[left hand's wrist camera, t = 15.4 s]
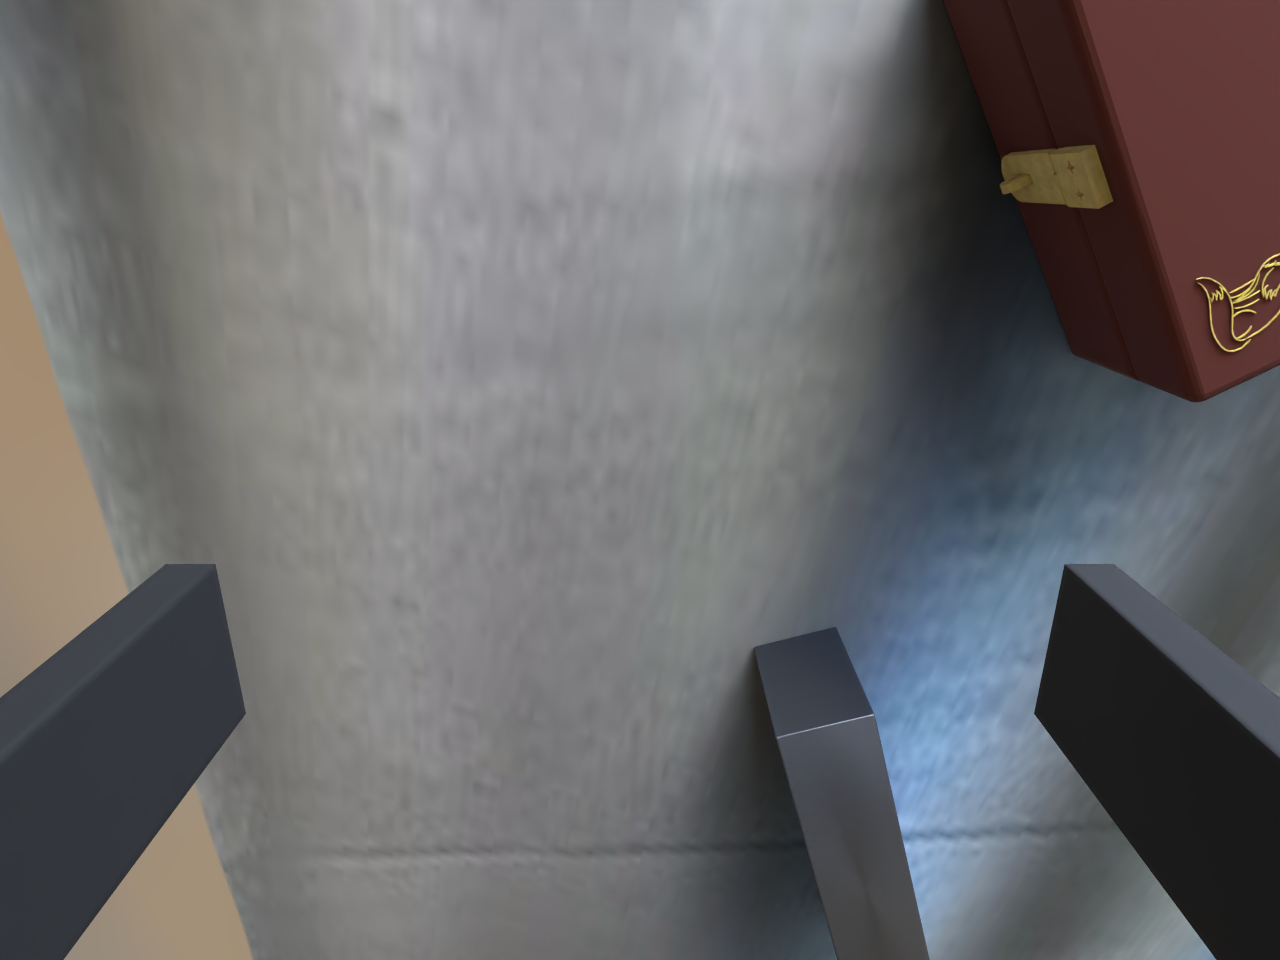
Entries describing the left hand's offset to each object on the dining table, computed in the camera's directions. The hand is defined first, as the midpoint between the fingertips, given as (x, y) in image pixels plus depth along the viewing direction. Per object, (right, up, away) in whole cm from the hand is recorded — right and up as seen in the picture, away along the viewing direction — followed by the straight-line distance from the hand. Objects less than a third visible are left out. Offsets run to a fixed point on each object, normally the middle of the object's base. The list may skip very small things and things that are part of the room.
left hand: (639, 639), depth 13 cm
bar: (+12, -17, +40) cm, 45 cm away
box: (+24, +21, +26) cm, 41 cm away
